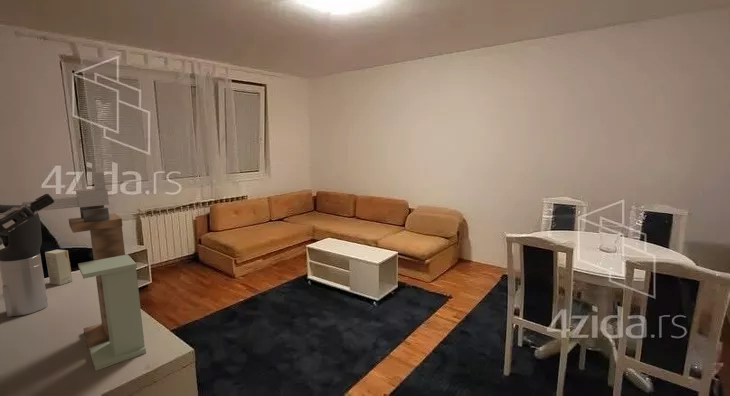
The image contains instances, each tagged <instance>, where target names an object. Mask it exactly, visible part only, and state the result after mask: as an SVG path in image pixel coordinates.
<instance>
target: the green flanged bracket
mask: <svg viewBox="0 0 730 396" xmlns="http://www.w3.org/2000/svg"><path fill="white" fill-rule="evenodd" d="M77 266H78V269H79V271H80V274H81V276H82V279H83V280H84V279H88V278H89V279H90V278H93V277H96V276H99V275H101V276H102V284H103V292H104V300H105V308H106V316H107V324H108V332H109V341H107V342H104V343H101V344H98V345H94V346H91V347H89V353H90V356H91V360H92V362H93V366H94V367H93V368H94V369H95V371H99V370H101V369H104V368H107V367H110V366H114V365H115V364H118V363H119V364H120V362H121V363H122V362H124V361H127V360H129V359H132V358H135V357H138V356H141V355H143V354H144V355H145V353H146V354H147V350H146V346H145V339H144V338H145V337H144V336H145V335H144V328H143V318H142V310H141V309H142V308H141V301H140V300H141V299H140V293H139V292H140V291H139V283H138V282H139V281H138V274H137V267H138V265H137V263H136V262H135V260H134V259H132V257H131V255H129V254H125V255H122V256H116V257H111V258H106V259H100V260H95V261H94V260H89V261H85V262H80V263H79V262H78V263H77Z"/></svg>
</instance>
